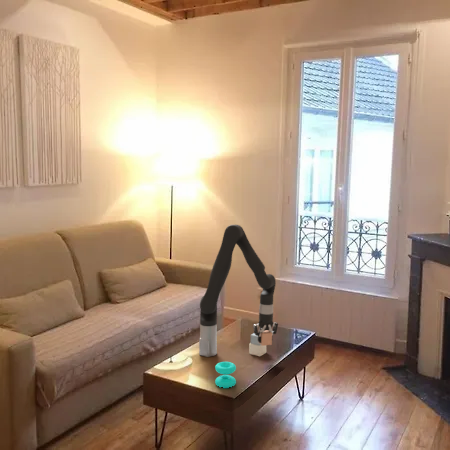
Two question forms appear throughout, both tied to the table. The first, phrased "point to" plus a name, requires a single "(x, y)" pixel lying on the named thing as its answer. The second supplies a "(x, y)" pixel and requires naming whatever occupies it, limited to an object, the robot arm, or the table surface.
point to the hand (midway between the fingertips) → (265, 341)
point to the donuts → (225, 369)
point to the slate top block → (254, 339)
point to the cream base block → (257, 349)
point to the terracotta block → (266, 338)
